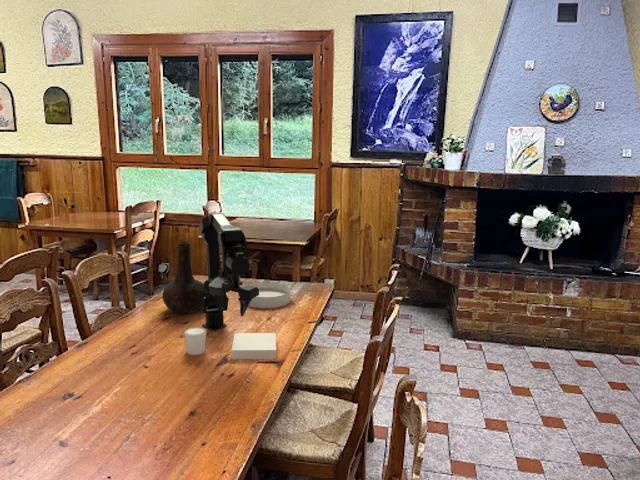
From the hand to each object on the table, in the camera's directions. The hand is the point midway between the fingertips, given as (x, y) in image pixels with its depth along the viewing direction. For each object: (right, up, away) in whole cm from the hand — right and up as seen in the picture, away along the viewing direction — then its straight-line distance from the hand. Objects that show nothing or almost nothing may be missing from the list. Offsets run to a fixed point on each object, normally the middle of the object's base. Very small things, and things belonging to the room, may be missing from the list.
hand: (230, 313), depth 157 cm
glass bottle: (-25, -5, +38) cm, 46 cm away
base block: (+7, -13, +3) cm, 15 cm away
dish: (+5, -3, +54) cm, 55 cm away
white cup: (-12, -13, 0) cm, 17 cm away
